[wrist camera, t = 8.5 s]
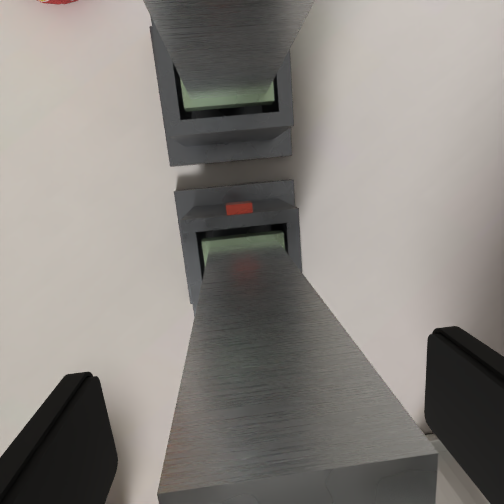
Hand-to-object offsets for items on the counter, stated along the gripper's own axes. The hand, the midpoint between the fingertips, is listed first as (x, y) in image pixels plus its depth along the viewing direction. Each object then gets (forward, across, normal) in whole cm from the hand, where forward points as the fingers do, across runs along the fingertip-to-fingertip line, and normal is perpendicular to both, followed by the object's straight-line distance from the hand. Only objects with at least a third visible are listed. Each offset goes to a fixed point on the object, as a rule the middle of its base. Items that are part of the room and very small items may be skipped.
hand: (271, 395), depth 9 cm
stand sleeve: (+21, 0, 0) cm, 21 cm away
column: (+14, 0, 0) cm, 14 cm away
